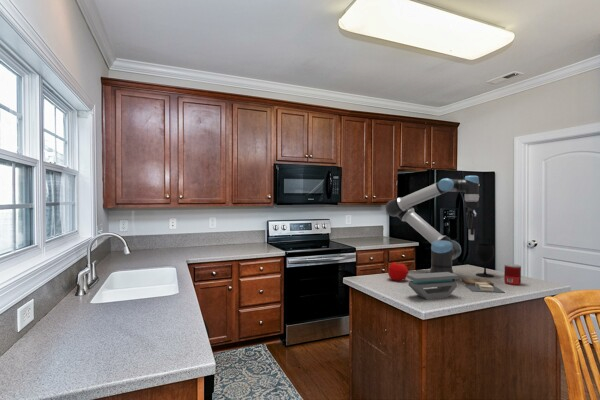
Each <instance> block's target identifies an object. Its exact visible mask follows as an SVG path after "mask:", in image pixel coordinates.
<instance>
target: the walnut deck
mask: <svg viewBox="0 0 600 400" xmlns="http://www.w3.org/2000/svg"><path fill="white" fill-rule="evenodd" d="M460 282H461V283H463V284H464V285H474V286H475V282H481V283H488V284H489V285H491V286H494V285H495V283H494V282H492V281H491V280H488V279H487V278H472V277H471V278H469V277H467V278H466V277H461V278H460Z"/></svg>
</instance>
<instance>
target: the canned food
mask: <svg viewBox="0 0 600 400" xmlns="http://www.w3.org/2000/svg"><path fill="white" fill-rule="evenodd" d="M521 281H522V266H521V265H520V264H518V263H517V264H516V263H505V264H504V283H505V284H506V285H510V286H521V284H522V282H521Z"/></svg>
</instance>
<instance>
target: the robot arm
mask: <svg viewBox="0 0 600 400" xmlns="http://www.w3.org/2000/svg"><path fill="white" fill-rule="evenodd" d="M479 179H480V178H479V176H478V175H465V177H464V178H463V179H453V178H448V177H446V178H442V179H440V180H439V181H437V182H435V183H432V184H431V185H429V186H426V187H424V188H421V189H419V190H416V191H414V192H412V193H410V194H407V195H405V196H403V197H402V196H401V197H397V198H394V199H391V200H389V201H388V202H387V203H386V205H385V212H386V214H387V215H389V216H390V217H397V218H399V220H401V222H406V223H408V225H409V226H410V227H412V228H413V229H414V230H415V231H416V232H418V233H419V234H420V235H421V236H422V237H423V238H424V239H425V240H427V242H429V243H430V244H431V246H430V250H431V251H430V254H431V255H430V257H431V259H430V262H431V264H430V265H431V267H430V269H429V272H428V273H439V272H450V273H453V274H455V272H454V270H453V260H456V259H457V258H459V257H460V255H461V254H462V247H461V245H460V243H459V242H457V241H455V240H452V239H451V238H450V237H448V236H447V235H442V234H441V233H440V232H439V231H437V230H436V229H435V227H433V226H431V224H430V223H428V222H427V221H426V220H424V219H423V218H422V216H420V215H419V214H417V213H416V212H415V208H414V207H413V206H416V205H418V204H421V203H423V202H425V201H428V200H431V199H433V198H436V197H439V196H440V195H443V194H446V193H448V192H449V193H451V192H455V193H457V192H464V207H465V208H467V210H466V212H465V217H466V219H465V220H466V228H468V240H469V241H475V229H476V228H477V221H478V215H479V214H478V213H477V210H476V208H479V207H480V204H479V203H480V202H479V199H480V194H479V192H480V191H479V190H480V180H479ZM452 280H453V281H455V282H456V279H452Z"/></svg>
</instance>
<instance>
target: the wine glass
mask: <svg viewBox="0 0 600 400" xmlns="http://www.w3.org/2000/svg"><path fill="white" fill-rule="evenodd" d="M495 251H496V250H495V247H494V245H493V244H489V243H477V245H476V248H475V253H476V257H477V259H479V260H480V261H481V262H482V263H483V266H484V267H483V272H478V273H475V276H477V277H480V278H485V279H487V278H488V279H491V278H495V275H494V274H490V273H487V264H488V263H490V262H491V261H492V260H493V259H494V257H495V254H496V253H495Z"/></svg>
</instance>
